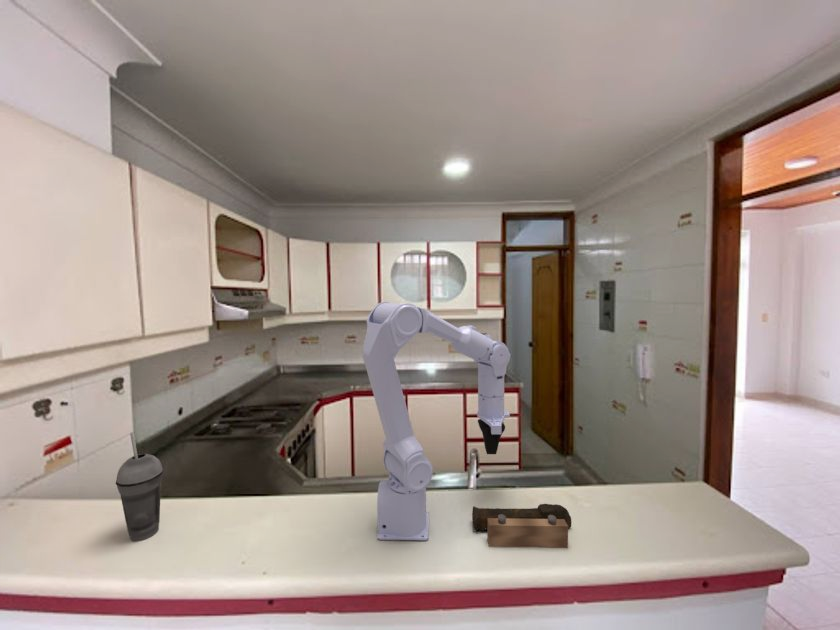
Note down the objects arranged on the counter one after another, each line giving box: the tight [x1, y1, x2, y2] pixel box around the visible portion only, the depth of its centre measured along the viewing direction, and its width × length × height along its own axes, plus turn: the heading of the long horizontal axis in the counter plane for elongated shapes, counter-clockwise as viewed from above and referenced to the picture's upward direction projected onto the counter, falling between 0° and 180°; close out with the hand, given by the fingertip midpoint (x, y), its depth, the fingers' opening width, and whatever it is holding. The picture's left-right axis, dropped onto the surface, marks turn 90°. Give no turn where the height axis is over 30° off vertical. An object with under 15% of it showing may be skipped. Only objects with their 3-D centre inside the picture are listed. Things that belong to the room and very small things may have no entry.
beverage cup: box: [115, 432, 164, 542], centre depth 69 cm, size 7×7×20 cm
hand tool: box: [471, 503, 572, 532], centre depth 69 cm, size 19×4×5 cm, turn 86°
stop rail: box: [486, 514, 569, 549], centre depth 65 cm, size 14×2×5 cm, turn 88°
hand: (491, 452), depth 81 cm, fingers closed
